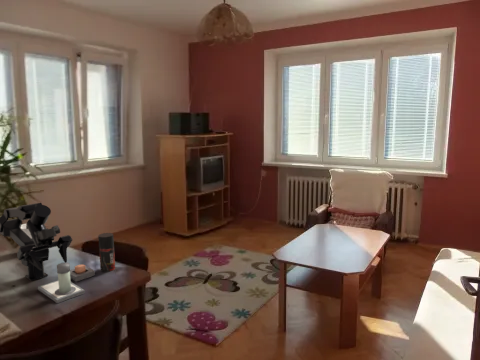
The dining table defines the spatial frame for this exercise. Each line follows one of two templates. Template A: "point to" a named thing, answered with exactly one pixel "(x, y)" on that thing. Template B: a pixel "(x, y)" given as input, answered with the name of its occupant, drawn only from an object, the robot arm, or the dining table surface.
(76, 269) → the button
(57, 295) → the board
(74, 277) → the button housing
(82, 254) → the dining table surface
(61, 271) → the knob
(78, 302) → the dining table surface
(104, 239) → the deodorant
